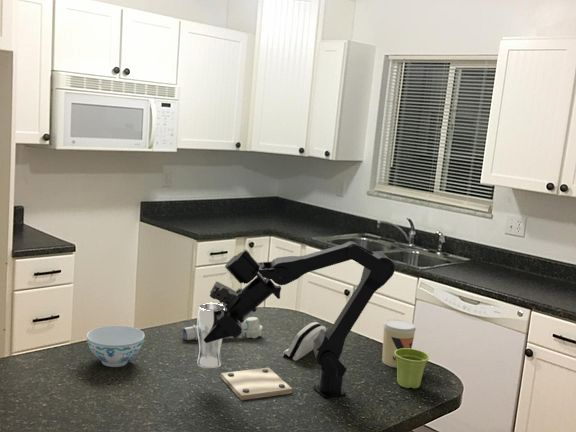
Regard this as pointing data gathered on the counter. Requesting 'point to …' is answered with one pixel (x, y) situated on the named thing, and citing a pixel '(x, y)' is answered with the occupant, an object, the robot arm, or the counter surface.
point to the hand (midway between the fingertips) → (205, 336)
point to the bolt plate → (255, 383)
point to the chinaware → (115, 344)
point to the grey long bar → (248, 327)
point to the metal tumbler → (205, 324)
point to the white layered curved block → (304, 341)
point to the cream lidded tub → (396, 339)
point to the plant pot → (410, 367)
